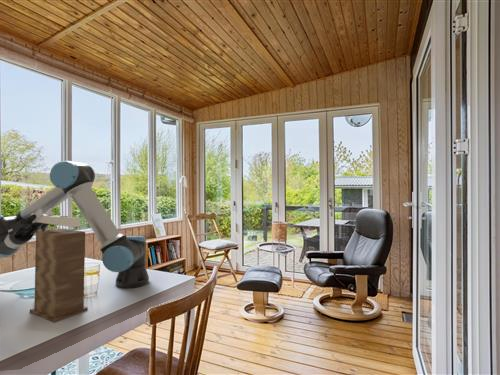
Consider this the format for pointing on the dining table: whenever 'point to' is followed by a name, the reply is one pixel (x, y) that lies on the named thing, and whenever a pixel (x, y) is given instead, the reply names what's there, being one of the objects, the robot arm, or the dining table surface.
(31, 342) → the dining table surface
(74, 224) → the domino bar
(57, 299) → the walnut post
